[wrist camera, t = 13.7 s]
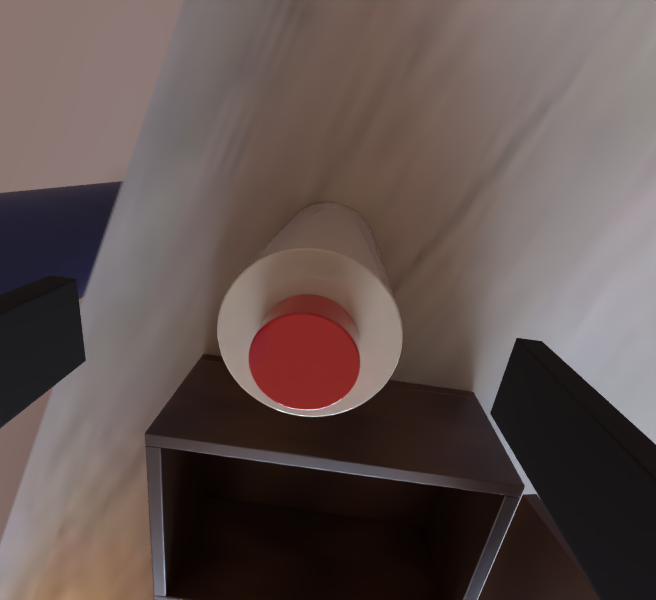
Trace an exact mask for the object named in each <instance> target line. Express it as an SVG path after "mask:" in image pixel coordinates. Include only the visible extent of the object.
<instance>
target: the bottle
mask: <svg viewBox="0 0 656 600" xmlns="http://www.w3.org/2000/svg"><path fill="white" fill-rule="evenodd" d="M217 338H218V343H219V348H220V352H221V355H222V358H223V360H224V362H225V364H226V366H227V368H228V370H229V372H230V373H231V375H232V376H233V378H234V379H235V380H236V381H237V382H238V384H239V385H240V386H241V387H242V388H243V389H244V390H245V391H246V392H248V393H249V394H250V395H251V396H253V397H254V398H255V399H257V400H258V401H260V402H262V403H263V404H265V405H267V406H269V407H271V408H274V409H276V410H278V411H282V412H285V413H288V414H293V415H298V416H308V417H318V416H328V415H334V414H338V413H342V412H345V411H348V410H351V409H353V408H355V407H357V406H359V405H361V404H363V403H364V402H366V401H367V400H369V399H370V398H372V397H373V396H374V395H375V394H376V393H377V392H379V391H380V390H381V389H382V387H383V386H384V385H385V384H386V383H387V382H388V380H389V378H390V377H391V375H392V374H393V372H394V370H395V368H396V366H397V364H398V361H399V358H400V355H401V350H402V344H403V328H402V320H401V316H400V313H399V310H398V306H397V304H396V301H395V298H394V295H393V292H392V289H391V286H390V283H389V280H388V277H387V274H386V272H385V269H384V266H383V263H382V260H381V257H380V254H379V251H378V248H377V245H376V243H375V240H374V237H373V234H372V232H371V229H370V227H369V226H368V224H367V223H366V221H365V220H364V219H363V218H362V217H361V216H360V215H359V214H358V213H357V212H355V211H354V210H352V209H350V208H349V207H347V206H344V205H341V204H337V203H318V204H314V205H311V206H308V207H306V208H304V209H303V210H301V211H300V212H298V213H297V214H296V215H295V216H294V217H293V218H292V219H291V220H290V221H289V222H288V223H287V224H286V225H285V226H284V227H283V228H282V230H281V231H280V232H279V233H278V234H277V235H276V236H275V237H274V238H273V239H272V240H271V241H270V242H269V243H268V244H267V246H266V247H265V248H264V249H263V250H262V251H261V252H260V253H259V254H258V255H257V256H256V257H255V258H254V259H253V261H252V262H251V263H250V264H249V265H248V266H247V267H246V268H245V269H244V270H243V271H242V272H241V273H240V274H239V276H238V277H237V278H236V279H235V280H234V282H233V283H232V284H231V285H230V287H229V289H228V290H227V292H226V294H225V296H224V298H223V301H222V303H221V306H220V310H219V314H218V321H217Z"/></svg>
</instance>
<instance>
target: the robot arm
mask: <svg viewBox="0 0 656 600" xmlns="http://www.w3.org/2000/svg"><path fill="white" fill-rule="evenodd" d="M85 361H86V359H85V351H84V342H83V333H82V325H81V316H80V307H79V299H78V290H77V281H76V279H74V278H66V277H59V276H51V275H50V276H47V277H45V278H42V279H40V280H37V281H35V282H32V283H30V284H27V285H25V286H22V287H20V288H17V289H15V290H12V291H10V292H7V293H5V294H2V295H0V428H1V427H2V426H4V425H5V424H6V423H7V422H8V421H10V420H11V419H13V418H14V417H15V416H16V415H18V414H19V413H20V412H21V411H23V410H24V409H25V408H26V407H28V406H29V405H30V404H31V403H32V402H34V401H35V400H36V399H38V398H39V397H40V396H42V395H43V394H44V393H45V392H47V391H48V390H49V389H50V388H52V387H53V386H54V385H55V384H57V383H58V382H59V381H61V380H62V379H63V378H64V377H66V376H67V375H68V374H69V373H71V372H72V371H73V370H74V369H76V368H77V367H78V366H79V365H81V364H82V363H83V362H85ZM490 414H491V415H492V417H493V419H494V421H495V422H496V424H497V426H498V427H499V429H500V431H501V432H502V434H503V436H504V438H505V439H506V441H507V443H508V444H509V446H510V448H511V449H512V451H513V453H514V455H515V456H516V458H517V460H518V461H519V463H520V465H521V466H522V468H523V470H524V472H525V473H526V475H527V477H528V478H529V480H530V482H531V483H532V485H533V487H534V489H535V490H536V492H537V494H538V495H539V497H540V499H541V500H542V502H543V504H544V506H545V507H546V509H547V511H548V512H549V514H550V516H551V517H552V519H553V521H554V523H555V524H556V526H557V528H558V529H559V531H560V533H561V534H562V536H563V538H564V540H565V541H566V543H567V545H568V546H569V548H570V550H571V551H572V553H573V555H574V557H575V558H576V560H577V562H578V563H579V565H580V567H581V568H582V570H583V572H584V574H585V575H586V577H587V579H588V580H589V582H590V584H591V585H592V587H593V589H594V591H595V592H596V594H597V596H598V597H599V599H600V600H656V444H654V443H653V442H652V441H651V440H650V439H649V438H648V437H647V436H646V435H644V434H643V433H642V432H641V431H640V430H639V429H638V428H637V427H636V426H635V425H633V424H632V423H631V422H630V421H629V420H628V419H627V418H626V417H625V416H624V415H622V414H621V413H620V412H619V411H618V410H617V409H616V408H615V407H614V406H613V405H611V404H610V403H609V402H608V401H607V400H606V399H605V398H604V397H603V396H602V395H600V394H599V393H598V392H597V391H596V390H595V389H594V388H593V387H592V386H590V385H589V384H588V383H587V382H586V381H585V380H584V379H583V378H582V377H581V376H579V375H578V374H577V373H576V372H575V371H574V370H573V369H572V368H571V367H570V366H568V365H567V364H566V363H565V362H564V361H563V360H562V359H561V358H560V357H559V356H557V355H556V354H555V353H554V352H553V351H552V350H551V349H550V348H549V347H548V346H546V345H545V344H544V343H543V342H542V341H536V340H528V339H521V338H516V341H515V344H514V347H513V350H512V353H511V355H510V358H509V361H508V364H507V367H506V370H505V373H504V376H503V378H502V381H501V384H500V387H499V390H498V393H497V396H496V398H495V401H494V404H493V407H492V410H491V413H490Z"/></svg>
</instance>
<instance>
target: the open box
mask: <svg viewBox="0 0 656 600" xmlns="http://www.w3.org/2000/svg"><path fill="white" fill-rule="evenodd" d="M145 444H146V461H147V479H148V498H149V516H150V534H151V553H152V571H153V589H154V600H477V597H478V595H479V593H480V590H481V588H482V586H483V583H484V581H485V579H486V576H487V574H488V572H489V569H490V567H491V565H492V562H493V560H494V558H495V555H496V553H497V550H498V548H499V546H500V543H501V541H502V539H503V536H504V534H505V532H506V529H507V527H508V525H509V522H510V520H511V518H512V515H513V513H514V511H515V508H516V506H517V504H518V501H519V499H520V497H521V494H522V492H523V490H524V487H525V486H524V484H523V482H522V480H521V478H520V476H519V475H518V473H517V471H516V469H515V467H514V465H513V464H512V462H511V460H510V458H509V456H508V454H507V453H506V451H505V449H504V447H503V445H502V443H501V441H500V440H499V438H498V436H497V434H496V432H495V430H494V429H493V427H492V425H491V423H490V421H489V419H488V418H487V416H486V414H485V412H484V410H483V408H482V407H481V405H480V403H479V401H478V399H477V398H476V396H475V394H474V392H469V391H462V390H455V389H448V388H441V387H433V386H426V385H419V384H412V383H405V382H398V381H391V380H388V382H387V383H386V384H385V385H384V386H383V387H382V389H381V390H380V391H379V392H377V393H376V394H375V395H374V396H373V397H372V398H370V399H369V400H367V401H366V402H364V403H363V404H361V405H359V406H357V407H355V408H353V409H351V410H348V411H345V412H342V413H338V414H334V415H328V416H318V417H308V416H298V415H293V414H288V413H285V412H282V411H278V410H276V409H274V408H271V407H269V406H267V405H265V404H263V403H262V402H260V401H258V400H257V399H255V398H254V397H253V396H251V395H250V394H249V393H248V392H246V391H245V390H244V389H243V388H242V387H241V386H240V385H239V384H238V382H237V381H236V380H235V379H234V378H233V376H232V375H231V373H230V372H229V370H228V368H227V366H226V364H225V362H224V360H223V358H222V357H219V356H212V355H205V354H204V355H202V357H201V358H200V360H199V361H198V362H197V363H196V365H195V366H194V367H193V369H192V370H191V371H190V373H189V374H188V376H187V377H186V378H185V380H184V381H183V382H182V384H181V385H180V386H179V388H178V389H177V390H176V392H175V393H174V395H173V396H172V397H171V399H170V400H169V401H168V403H167V404H166V405H165V407H164V408H163V409H162V411H161V412H160V414H159V415H158V416H157V418H156V419H155V420H154V422H153V423H152V424H151V426H150V427H149V428H148V430H147V431H146V432H145Z"/></svg>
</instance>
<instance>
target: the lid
mask: <svg viewBox="0 0 656 600" xmlns="http://www.w3.org/2000/svg"><path fill="white" fill-rule="evenodd" d="M478 600H600V599H599V597H598V596H597V594H596V592H595V591H594V589H593V587H592V585H591V584H590V582H589V580H588V579H587V577H586V575H585V574H584V572H583V570H582V568H581V567H580V565H579V563H578V562H577V560H576V558H575V557H574V555H573V553H572V551H571V550H570V548H569V546H568V545H567V543H566V541H565V540H564V538H563V536H562V534H561V533H560V531H559V529H558V528H557V526H556V524H555V523H554V521H553V519H552V517H551V516H550V514H549V512H548V511H547V509H546V507H545V506H544V504H543V502H542V501H541V499H540V498H539V497H538V495H537V494H527V495H523V496H522V498H521V500H520V503H519V505H518V507H517V510H516V512H515V514H514V517H513V519H512V521H511V524H510V526H509V528H508V531H507V533H506V535H505V538H504V540H503V542H502V545H501V547H500V549H499V552H498V554H497V556H496V559H495V561H494V563H493V566H492V568H491V571H490V573H489V575H488V578H487V580H486V582H485V585H484V587H483V589H482V592H481V594H480V596H479V599H478Z"/></svg>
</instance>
